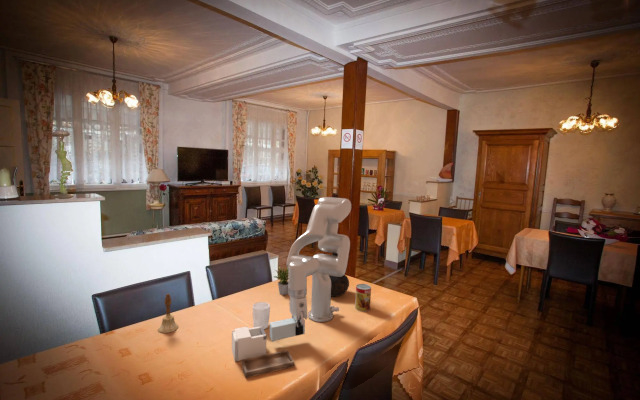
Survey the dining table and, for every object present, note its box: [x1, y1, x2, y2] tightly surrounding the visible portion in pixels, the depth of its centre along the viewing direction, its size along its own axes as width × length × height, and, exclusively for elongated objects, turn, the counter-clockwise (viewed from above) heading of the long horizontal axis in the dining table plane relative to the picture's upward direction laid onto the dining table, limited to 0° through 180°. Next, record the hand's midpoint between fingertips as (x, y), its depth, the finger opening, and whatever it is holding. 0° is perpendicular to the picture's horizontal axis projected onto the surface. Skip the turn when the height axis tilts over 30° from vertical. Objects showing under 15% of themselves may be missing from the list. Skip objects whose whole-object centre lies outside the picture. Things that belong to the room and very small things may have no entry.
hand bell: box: [157, 293, 179, 334], centre depth 138 cm, size 8×8×16 cm
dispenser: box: [231, 326, 268, 362], centre depth 123 cm, size 12×8×9 cm, turn 113°
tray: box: [240, 349, 295, 379], centre depth 116 cm, size 18×8×2 cm, turn 113°
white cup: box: [252, 301, 271, 330], centre depth 143 cm, size 8×8×10 cm
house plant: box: [273, 266, 289, 296], centre depth 180 cm, size 14×14×16 cm
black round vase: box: [329, 253, 350, 297], centre depth 184 cm, size 18×18×28 cm
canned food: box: [354, 283, 372, 312], centre depth 166 cm, size 8×8×12 cm
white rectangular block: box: [269, 317, 306, 342], centre depth 130 cm, size 14×4×6 cm, turn 113°
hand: (297, 331), depth 132 cm, fingers closed on white rectangular block, 4 cm apart
